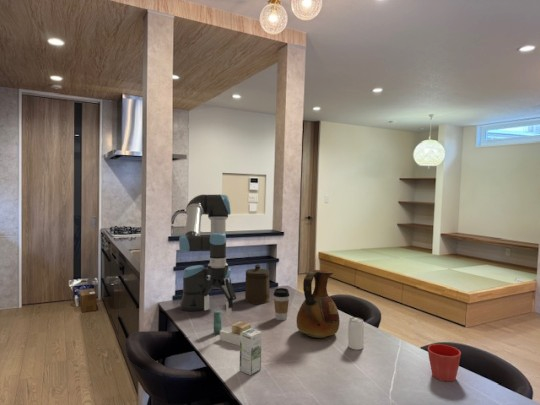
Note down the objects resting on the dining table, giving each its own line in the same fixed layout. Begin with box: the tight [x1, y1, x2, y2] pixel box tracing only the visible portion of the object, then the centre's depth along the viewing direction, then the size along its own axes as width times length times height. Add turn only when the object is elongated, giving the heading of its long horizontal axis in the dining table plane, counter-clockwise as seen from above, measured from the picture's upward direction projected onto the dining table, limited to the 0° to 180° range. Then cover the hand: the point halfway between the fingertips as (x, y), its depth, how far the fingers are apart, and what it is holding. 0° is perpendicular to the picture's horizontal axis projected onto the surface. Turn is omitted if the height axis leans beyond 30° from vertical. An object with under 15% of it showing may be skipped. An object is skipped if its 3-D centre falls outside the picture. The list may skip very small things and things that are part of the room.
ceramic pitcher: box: [296, 269, 340, 339], centre depth 169 cm, size 20×20×30 cm
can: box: [347, 316, 365, 351], centre depth 155 cm, size 6×6×12 cm
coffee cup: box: [273, 287, 290, 321], centre depth 190 cm, size 8×8×15 cm
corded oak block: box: [213, 310, 252, 336], centre depth 165 cm, size 19×6×10 cm, turn 56°
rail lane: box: [219, 327, 260, 347], centre depth 162 cm, size 14×10×4 cm
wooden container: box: [244, 264, 271, 305], centre depth 222 cm, size 15×15×22 cm
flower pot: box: [427, 343, 462, 382], centre depth 131 cm, size 11×11×10 cm
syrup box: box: [239, 327, 263, 376], centre depth 134 cm, size 6×6×14 cm
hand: (217, 312), depth 169 cm, fingers open, 13 cm apart
